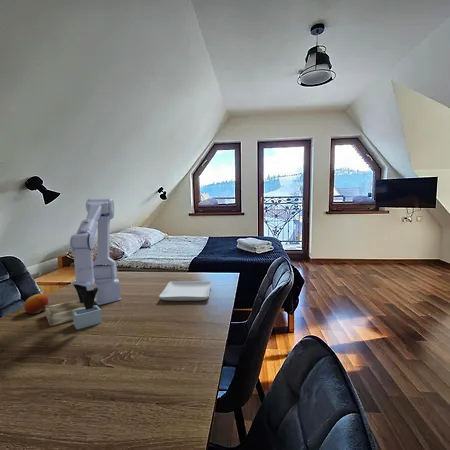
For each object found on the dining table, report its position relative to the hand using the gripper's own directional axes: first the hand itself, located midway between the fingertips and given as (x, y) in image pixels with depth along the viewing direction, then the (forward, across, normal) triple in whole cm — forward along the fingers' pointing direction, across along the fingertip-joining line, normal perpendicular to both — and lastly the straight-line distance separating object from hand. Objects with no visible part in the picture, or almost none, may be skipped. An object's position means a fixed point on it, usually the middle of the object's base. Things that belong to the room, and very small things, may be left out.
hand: (86, 305), depth 96 cm
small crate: (+7, 0, 0) cm, 7 cm away
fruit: (+7, -25, -12) cm, 29 cm away
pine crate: (+6, -12, -4) cm, 14 cm away
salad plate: (+7, -2, +43) cm, 43 cm away
